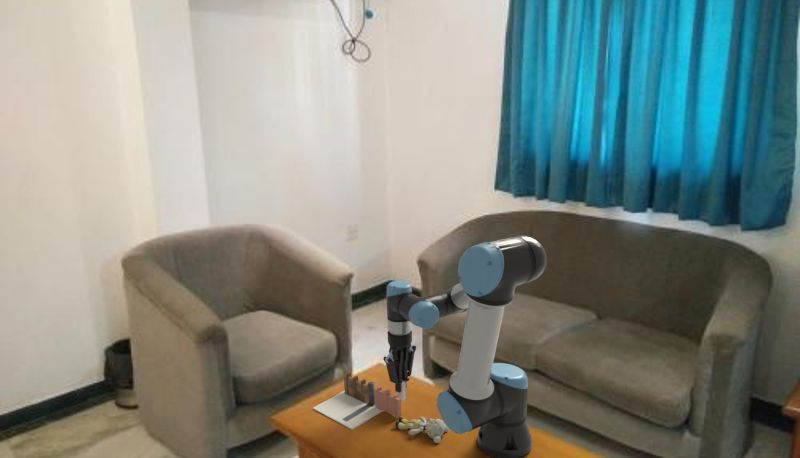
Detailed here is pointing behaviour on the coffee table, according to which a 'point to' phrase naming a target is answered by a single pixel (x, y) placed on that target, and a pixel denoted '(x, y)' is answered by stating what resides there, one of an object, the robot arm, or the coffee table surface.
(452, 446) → the coffee table surface
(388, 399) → the fence panel
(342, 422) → the card
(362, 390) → the fence fixed
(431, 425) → the toy
